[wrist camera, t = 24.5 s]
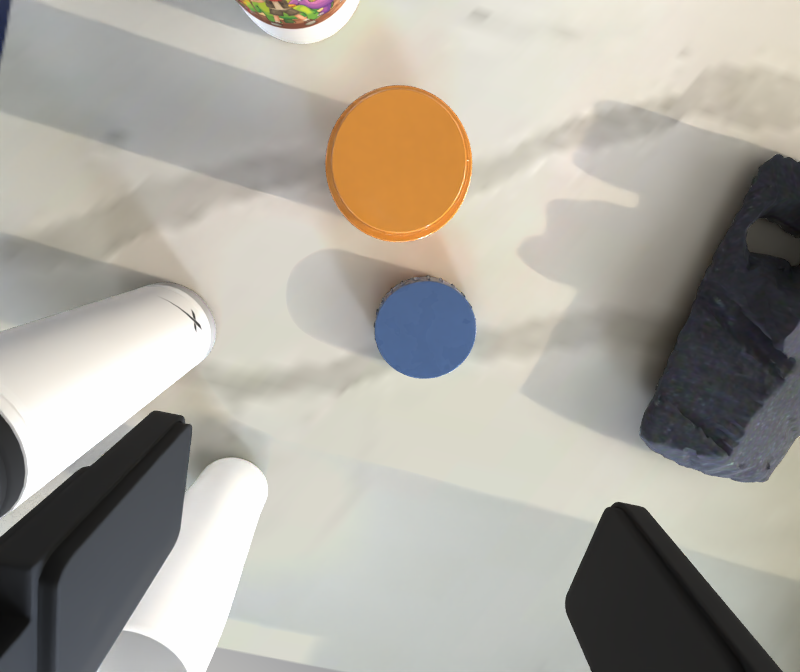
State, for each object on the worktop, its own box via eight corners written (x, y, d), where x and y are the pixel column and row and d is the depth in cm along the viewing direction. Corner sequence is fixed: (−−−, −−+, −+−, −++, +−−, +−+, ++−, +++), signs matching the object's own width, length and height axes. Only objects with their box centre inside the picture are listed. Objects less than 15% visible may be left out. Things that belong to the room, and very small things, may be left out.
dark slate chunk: (591, 421, 33) (622, 455, 29) (770, 132, 28) (844, 118, 23) (756, 490, 35) (809, 532, 31) (955, 232, 30) (1057, 237, 25)
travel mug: (223, 288, 30) (-78, 430, 11) (211, 375, 32) (-65, 628, 13) (131, 266, 30) (-352, 376, 11) (124, 356, 31) (-299, 589, 12)
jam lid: (444, 384, 32) (447, 395, 31) (359, 345, 31) (356, 354, 30) (490, 302, 31) (496, 308, 29) (401, 258, 30) (401, 261, 28)
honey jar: (358, 240, 29) (339, 258, 19) (336, 135, 27) (301, 92, 17) (456, 221, 29) (488, 228, 19) (440, 113, 27) (466, 57, 17)
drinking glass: (278, 522, 36) (199, 736, 21) (194, 516, 35) (56, 728, 21) (280, 448, 34) (194, 629, 19) (190, 441, 33) (36, 619, 19)
